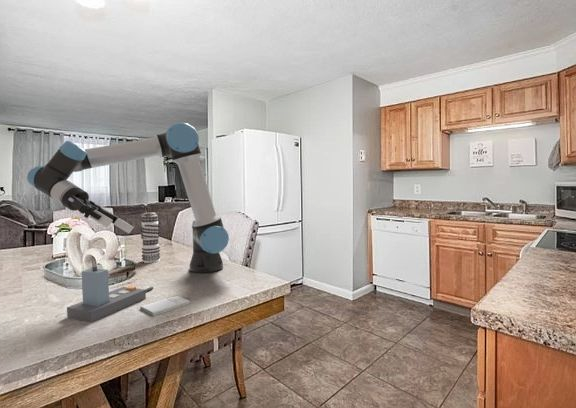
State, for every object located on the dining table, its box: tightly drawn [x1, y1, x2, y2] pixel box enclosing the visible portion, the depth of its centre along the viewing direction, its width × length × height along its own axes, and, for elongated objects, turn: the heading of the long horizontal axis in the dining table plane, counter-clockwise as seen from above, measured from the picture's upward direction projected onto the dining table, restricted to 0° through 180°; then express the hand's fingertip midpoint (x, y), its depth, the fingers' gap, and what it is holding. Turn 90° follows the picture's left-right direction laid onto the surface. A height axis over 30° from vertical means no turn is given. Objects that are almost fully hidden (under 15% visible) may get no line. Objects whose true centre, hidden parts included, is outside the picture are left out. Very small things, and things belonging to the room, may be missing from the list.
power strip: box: [66, 285, 154, 323], centre depth 104 cm, size 28×10×4 cm, turn 160°
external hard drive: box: [139, 295, 191, 317], centre depth 101 cm, size 2×8×12 cm
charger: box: [81, 265, 110, 307], centre depth 95 cm, size 4×6×12 cm, turn 70°
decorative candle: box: [139, 211, 161, 264], centre depth 161 cm, size 9×9×25 cm
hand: (121, 227), depth 104 cm, fingers open, 13 cm apart
